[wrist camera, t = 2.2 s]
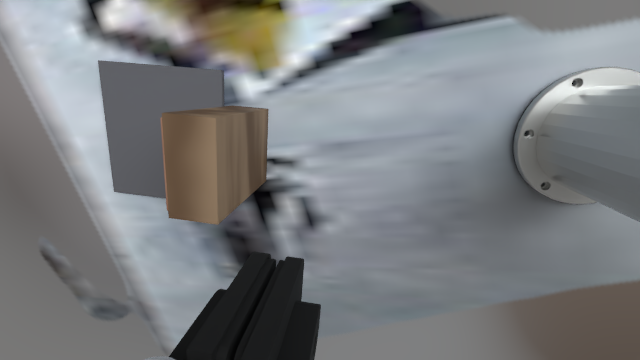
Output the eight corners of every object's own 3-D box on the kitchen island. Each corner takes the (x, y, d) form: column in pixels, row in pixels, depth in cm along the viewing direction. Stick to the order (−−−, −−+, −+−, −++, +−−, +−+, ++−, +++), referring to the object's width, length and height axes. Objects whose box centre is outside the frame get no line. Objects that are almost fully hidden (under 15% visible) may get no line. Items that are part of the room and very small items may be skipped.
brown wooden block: (268, 108, 32) (215, 118, 21) (266, 180, 34) (217, 224, 23) (228, 105, 33) (156, 112, 21) (229, 176, 35) (164, 217, 24)
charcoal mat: (223, 70, 32) (221, 70, 31) (225, 204, 36) (223, 205, 35) (101, 60, 33) (98, 60, 33) (117, 190, 37) (114, 191, 37)
